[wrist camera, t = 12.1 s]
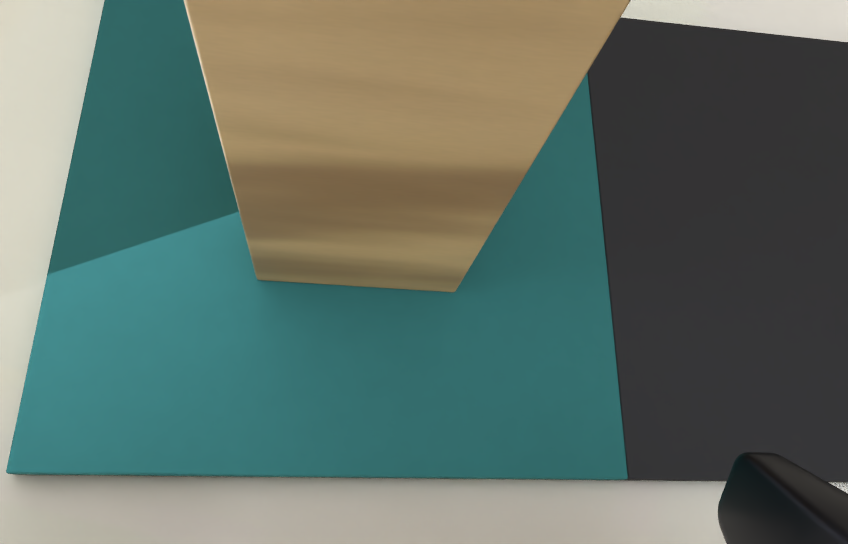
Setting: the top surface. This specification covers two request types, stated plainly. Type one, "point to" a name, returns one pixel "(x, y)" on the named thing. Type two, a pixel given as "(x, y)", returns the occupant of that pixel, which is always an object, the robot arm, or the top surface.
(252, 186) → the maple block
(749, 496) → the robot arm
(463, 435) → the runner mat
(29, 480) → the top surface
